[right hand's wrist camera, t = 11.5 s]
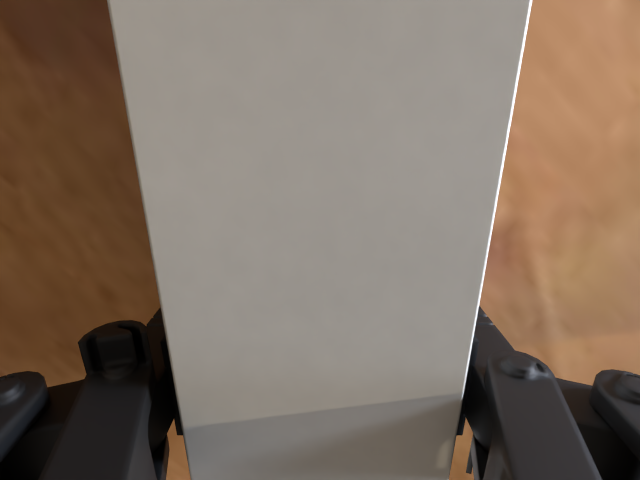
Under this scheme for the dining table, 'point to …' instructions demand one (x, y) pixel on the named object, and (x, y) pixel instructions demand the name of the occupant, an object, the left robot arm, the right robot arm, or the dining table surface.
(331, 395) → the beam
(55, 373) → the dining table surface
